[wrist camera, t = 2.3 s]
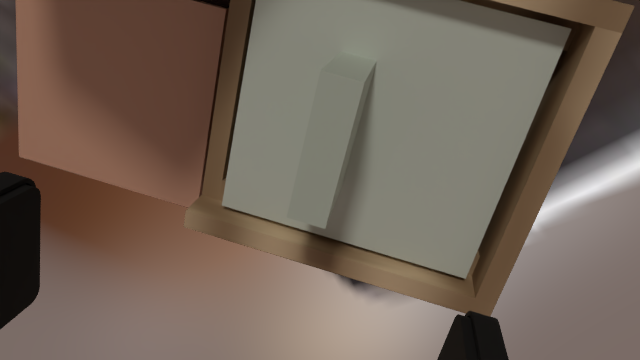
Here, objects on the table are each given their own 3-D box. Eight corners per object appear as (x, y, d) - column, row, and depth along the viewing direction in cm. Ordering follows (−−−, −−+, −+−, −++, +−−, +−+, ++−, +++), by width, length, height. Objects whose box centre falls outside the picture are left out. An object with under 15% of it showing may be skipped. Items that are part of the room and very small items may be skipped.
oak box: (592, 0, 23) (634, 5, 18) (477, 266, 29) (488, 320, 24) (263, -81, 24) (226, -96, 20) (219, 189, 30) (183, 226, 26)
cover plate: (564, 26, 21) (616, 43, 15) (464, 268, 26) (475, 345, 20) (270, -48, 22) (220, -58, 16) (228, 197, 27) (179, 253, 21)
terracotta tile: (230, 8, 26) (225, 9, 26) (201, 206, 31) (196, 210, 30) (22, -47, 27) (14, -47, 27) (26, 153, 32) (19, 156, 31)
